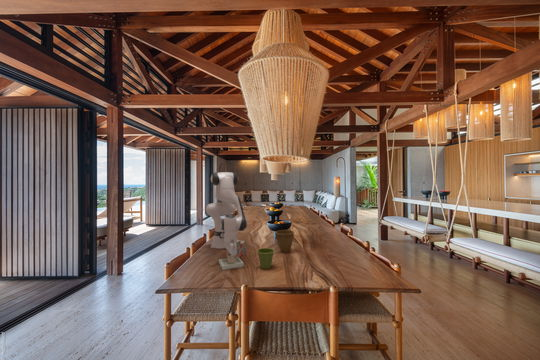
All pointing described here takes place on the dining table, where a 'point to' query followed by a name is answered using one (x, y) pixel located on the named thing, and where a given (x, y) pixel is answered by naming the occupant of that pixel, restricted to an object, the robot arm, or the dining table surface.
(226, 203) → the robot arm
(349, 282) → the dining table surface
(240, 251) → the patterned box
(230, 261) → the maple block
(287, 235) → the plant pot
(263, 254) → the plant pot
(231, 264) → the tray
